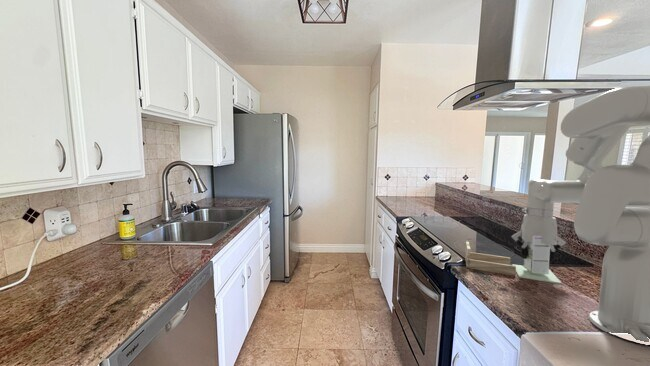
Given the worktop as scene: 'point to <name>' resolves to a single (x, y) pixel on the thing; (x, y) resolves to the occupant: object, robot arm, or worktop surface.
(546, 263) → the syrup box
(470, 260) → the frame
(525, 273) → the mat
